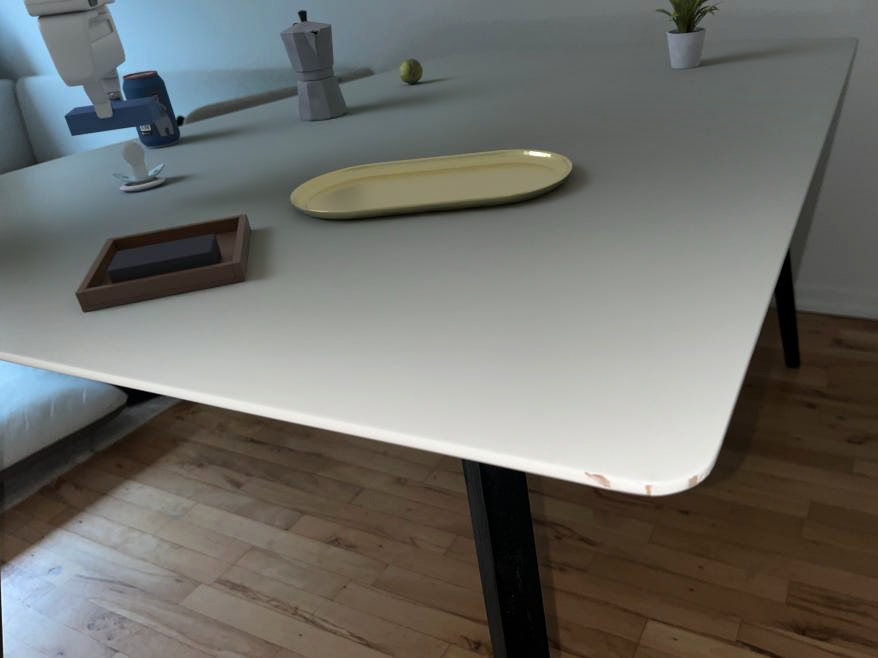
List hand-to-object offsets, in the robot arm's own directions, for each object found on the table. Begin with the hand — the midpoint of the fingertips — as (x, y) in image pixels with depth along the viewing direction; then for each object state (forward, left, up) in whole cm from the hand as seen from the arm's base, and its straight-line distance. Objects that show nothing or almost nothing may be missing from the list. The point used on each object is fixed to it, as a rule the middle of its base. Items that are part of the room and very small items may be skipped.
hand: (112, 111), depth 95 cm
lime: (+46, +57, -13) cm, 75 cm away
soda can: (-3, +38, -13) cm, 41 cm away
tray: (+7, -27, -12) cm, 30 cm away
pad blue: (0, 0, -2) cm, 2 cm away
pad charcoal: (+7, -30, -12) cm, 33 cm away
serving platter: (+37, -17, -13) cm, 43 cm away
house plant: (+94, +29, -13) cm, 99 cm away
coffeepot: (+26, +41, -13) cm, 51 cm away
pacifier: (-2, +10, -13) cm, 17 cm away
